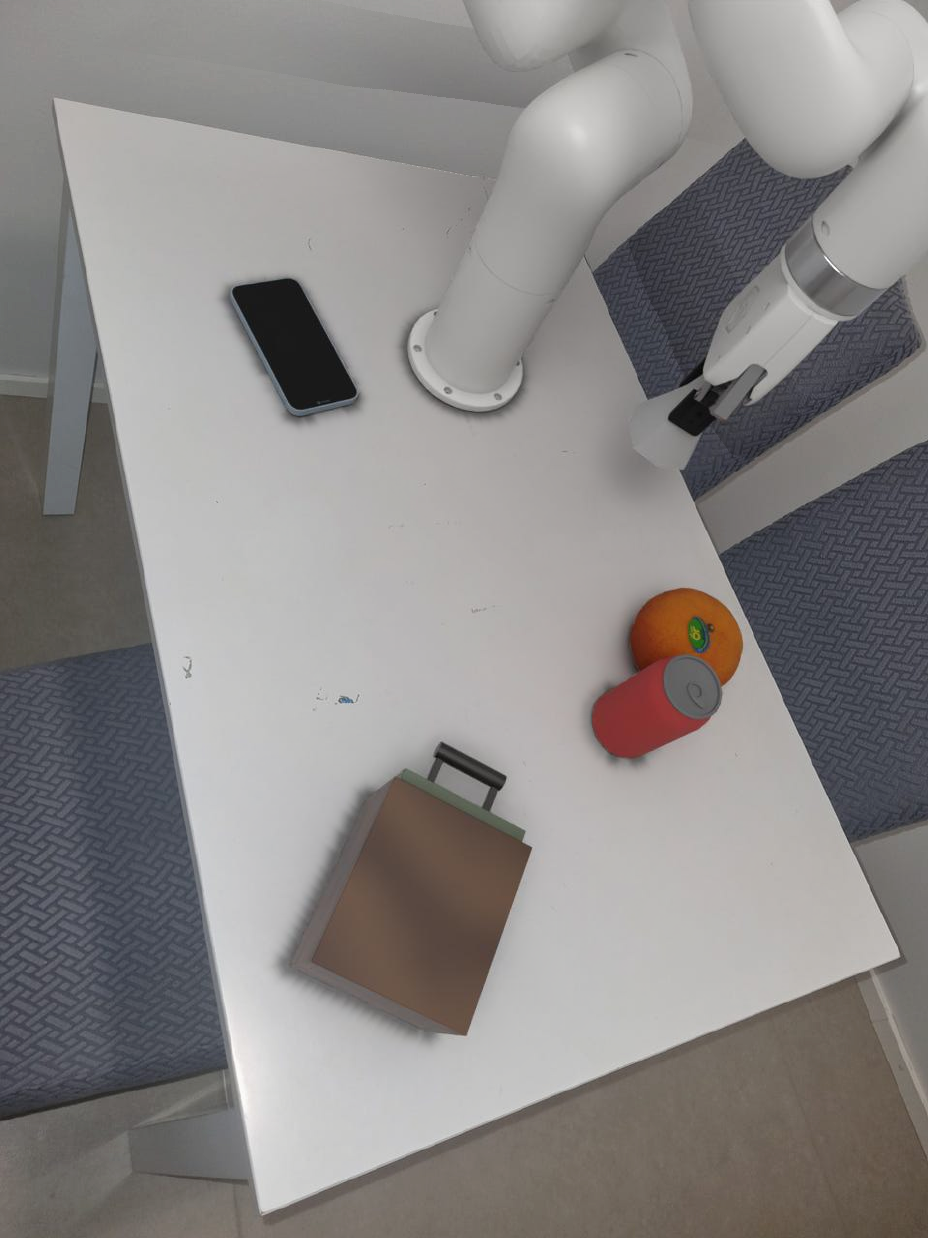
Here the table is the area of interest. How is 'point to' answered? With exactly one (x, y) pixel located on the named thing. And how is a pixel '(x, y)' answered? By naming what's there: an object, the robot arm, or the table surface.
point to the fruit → (687, 631)
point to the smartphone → (293, 345)
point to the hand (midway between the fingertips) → (688, 409)
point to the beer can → (657, 706)
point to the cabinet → (414, 909)
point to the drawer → (473, 770)
